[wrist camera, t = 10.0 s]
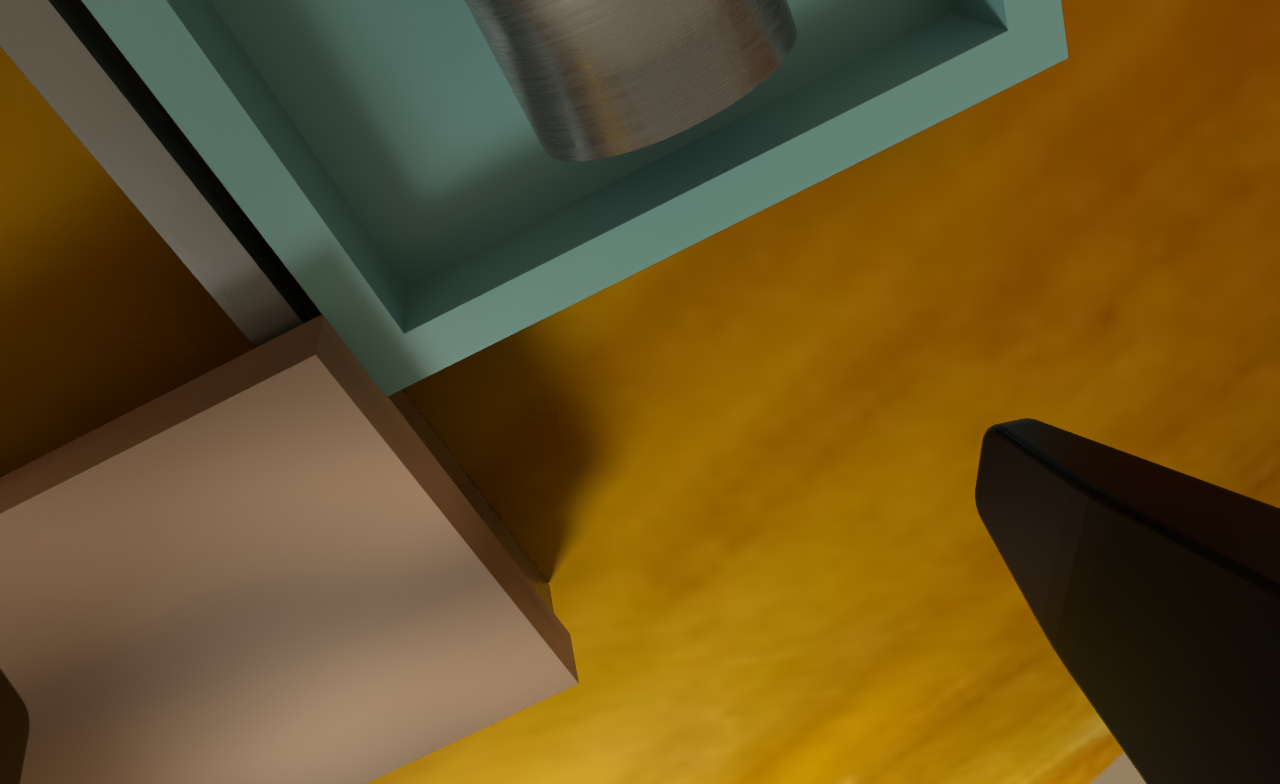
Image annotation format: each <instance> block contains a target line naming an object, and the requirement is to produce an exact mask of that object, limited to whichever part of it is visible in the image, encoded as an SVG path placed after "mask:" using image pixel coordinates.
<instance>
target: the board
mask: <svg viewBox="0 0 1280 784" xmlns="http://www.w3.org/2000/svg"><path fill="white" fill-rule="evenodd" d="M0 668H1V669H2V671H3V672H4V674H5V675H6V676H7V678H8V679H9V681H10V682H11V684H12V685H13V686H14V688H15V689H16V691H17V692H18V694H19V695H20V696H21V698H22V699H23V701H24V703H25V704H26V707H27V710H28V712H29V718H30V735H29V741H28V746H27V752H26V757H25V763H24V768H23V774H22V779H21V784H365V783H367V782H370V781H372V780H374V779H376V778H378V777H380V776H382V775H384V774H387V773H389V772H391V771H393V770H395V769H397V768H399V767H402V766H404V765H406V764H408V763H410V762H412V761H414V760H417V759H419V758H421V757H423V756H425V755H427V754H429V753H432V752H434V751H436V750H438V749H440V748H442V747H444V746H446V745H449V744H451V743H453V742H455V741H457V740H459V739H461V738H464V737H466V736H468V735H470V734H472V733H474V732H476V731H479V730H481V729H483V728H485V727H487V726H489V725H491V724H494V723H496V722H498V721H500V720H502V719H504V718H506V717H508V716H511V715H513V714H515V713H517V712H519V711H521V710H523V709H526V708H528V707H530V706H532V705H534V704H536V703H538V702H541V701H543V700H545V699H547V698H549V697H551V696H553V695H556V694H558V693H560V692H562V691H564V690H566V689H568V688H570V687H573V686H575V685H577V684H579V682H578V677H577V671H576V666H575V660H574V654H573V649H572V643H571V638H570V634H569V632H568V631H567V630H566V628H565V627H564V626H563V624H562V623H561V622H560V621H559V619H558V618H557V617H556V615H555V614H554V613H553V611H552V610H551V609H550V607H549V606H548V605H547V604H546V602H545V601H544V600H543V598H542V597H541V596H540V594H539V593H538V592H537V590H536V589H535V588H534V587H533V585H532V584H531V583H530V581H529V580H528V579H527V577H526V576H525V575H524V574H523V572H522V571H521V570H520V568H519V567H518V566H517V564H516V563H515V562H514V560H513V559H512V558H511V557H510V555H509V554H508V553H507V551H506V550H505V549H504V547H503V546H502V545H501V543H500V542H499V541H498V540H497V538H496V537H495V536H494V534H493V533H492V532H491V530H490V529H489V528H488V526H487V525H486V524H485V523H484V521H483V520H482V519H481V517H480V516H479V515H478V513H477V512H476V511H475V510H474V508H473V507H472V506H471V504H470V503H469V502H468V500H467V499H466V498H465V496H464V495H463V494H462V493H461V491H460V490H459V489H458V487H457V486H456V485H455V483H454V482H453V481H452V479H451V478H450V477H449V476H448V474H447V473H446V472H445V470H444V469H443V468H442V466H441V465H440V464H439V462H438V461H437V460H436V459H435V457H434V456H433V455H432V453H431V452H430V451H429V449H428V448H427V447H426V446H425V444H424V443H423V442H422V440H421V439H420V438H419V436H418V435H417V434H416V432H415V431H414V430H413V429H412V427H411V426H410V425H409V423H408V422H407V421H406V419H405V418H404V417H403V415H402V414H401V413H400V412H399V410H398V409H397V408H396V406H395V405H394V404H393V402H392V401H391V400H390V398H389V397H386V396H385V395H384V394H383V392H382V391H381V390H380V388H379V387H378V386H377V385H376V383H375V382H374V381H373V379H372V378H371V377H370V375H369V374H368V373H367V372H366V370H365V369H364V368H363V366H362V365H361V364H360V362H359V361H358V360H357V359H356V357H355V356H354V355H353V353H352V352H351V351H350V349H349V348H348V347H347V346H346V344H345V343H344V342H343V340H342V339H341V338H340V336H339V335H338V334H337V332H336V331H335V330H334V329H333V327H332V326H331V325H330V323H329V322H328V321H327V319H326V318H325V317H324V316H323V314H322V315H320V316H318V317H316V318H314V319H312V320H310V321H308V322H306V323H304V324H302V325H300V326H298V327H296V328H294V329H292V330H290V331H288V332H286V333H284V334H282V335H280V336H278V337H276V338H274V339H272V340H270V341H268V342H266V343H264V344H262V345H260V346H258V347H256V348H254V349H253V350H251V351H249V352H247V353H245V354H243V355H241V356H239V357H237V358H235V359H233V360H231V361H229V362H227V363H225V364H223V365H221V366H219V367H217V368H215V369H213V370H211V371H209V372H207V373H205V374H203V375H201V376H199V377H197V378H195V379H193V380H191V381H189V382H187V383H185V384H183V385H181V386H180V387H178V388H176V389H174V390H172V391H170V392H168V393H166V394H164V395H162V396H160V397H158V398H156V399H154V400H152V401H150V402H148V403H146V404H144V405H142V406H140V407H138V408H136V409H134V410H132V411H130V412H128V413H126V414H124V415H122V416H120V417H118V418H116V419H114V420H112V421H110V422H108V423H107V424H105V425H103V426H101V427H99V428H97V429H95V430H93V431H91V432H89V433H87V434H85V435H83V436H81V437H79V438H77V439H75V440H73V441H71V442H69V443H67V444H65V445H63V446H61V447H59V448H57V449H55V450H53V451H51V452H49V453H47V454H45V455H43V456H41V457H39V458H37V459H35V460H34V461H32V462H30V463H28V464H26V465H24V466H22V467H20V468H18V469H16V470H14V471H12V472H10V473H8V474H6V475H4V476H2V477H0Z"/></svg>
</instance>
